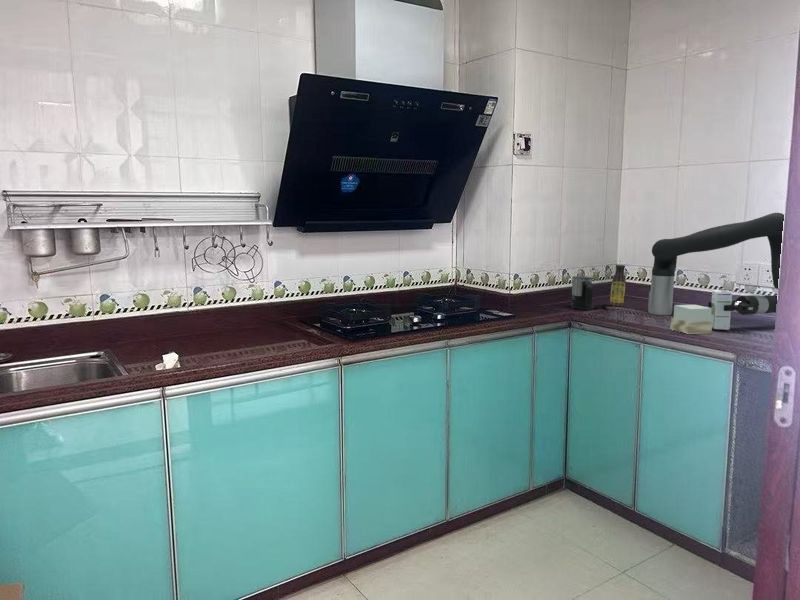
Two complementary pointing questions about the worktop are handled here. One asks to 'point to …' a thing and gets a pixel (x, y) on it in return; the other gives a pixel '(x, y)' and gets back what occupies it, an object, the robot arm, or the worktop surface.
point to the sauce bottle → (618, 286)
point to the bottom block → (691, 327)
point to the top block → (692, 313)
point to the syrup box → (720, 309)
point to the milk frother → (583, 293)
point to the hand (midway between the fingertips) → (716, 306)
